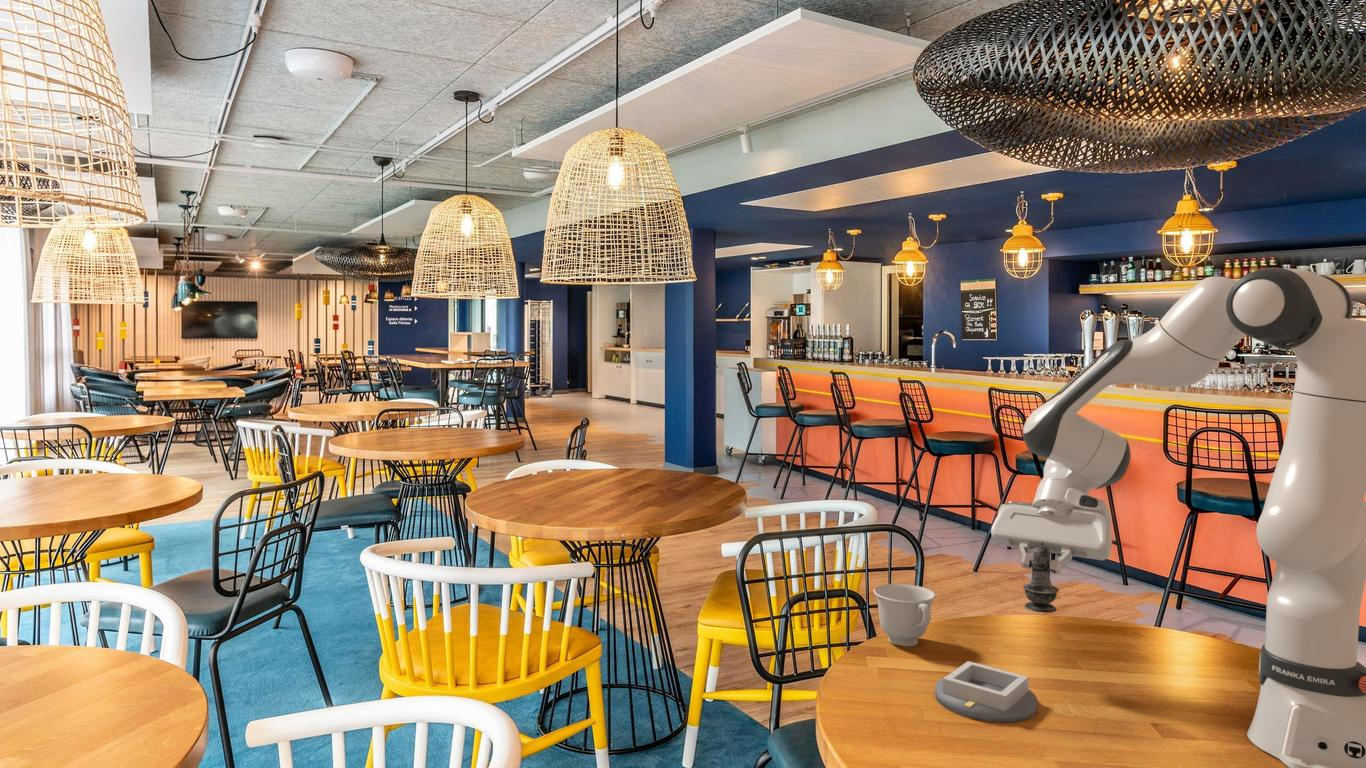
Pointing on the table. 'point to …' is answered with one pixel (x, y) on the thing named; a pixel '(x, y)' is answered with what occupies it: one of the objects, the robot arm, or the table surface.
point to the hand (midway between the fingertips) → (1040, 569)
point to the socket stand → (987, 694)
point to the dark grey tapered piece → (1040, 582)
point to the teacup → (904, 612)
